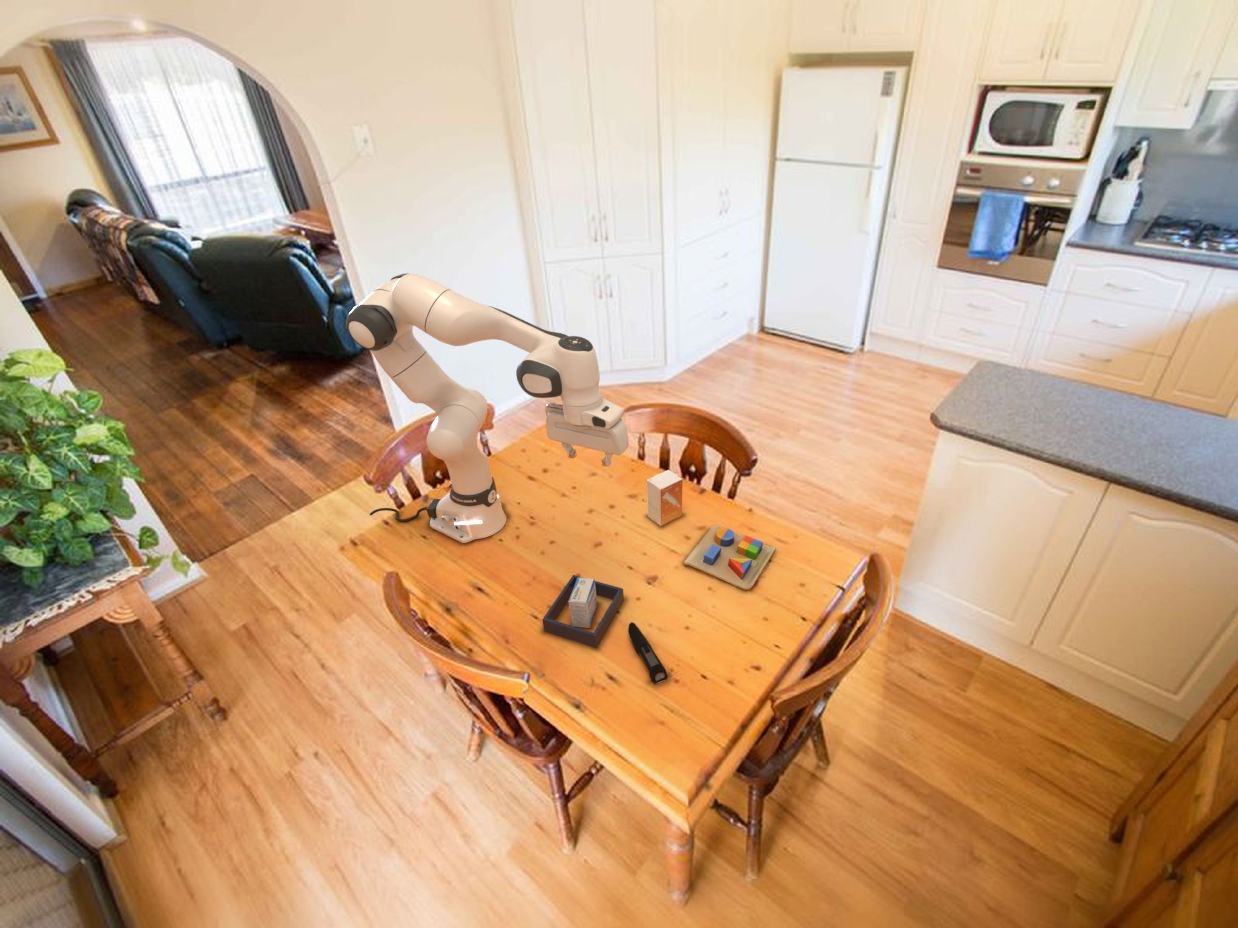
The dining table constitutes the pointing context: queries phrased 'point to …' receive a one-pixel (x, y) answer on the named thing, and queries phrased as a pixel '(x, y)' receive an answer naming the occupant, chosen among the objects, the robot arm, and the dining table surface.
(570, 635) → the dark rectangular frame
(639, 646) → the electric trimmer
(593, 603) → the medicine box
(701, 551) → the shape puzzle
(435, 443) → the robot arm
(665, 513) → the small box
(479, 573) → the dining table surface
